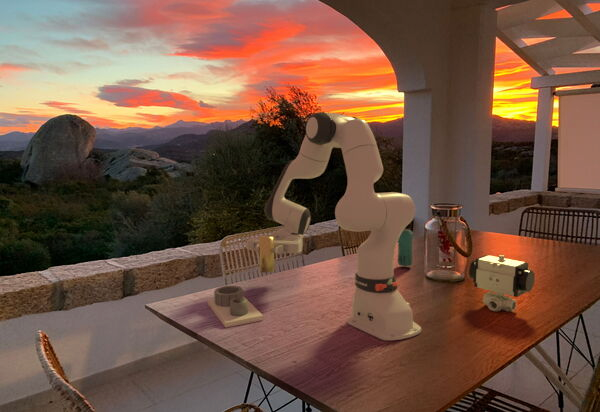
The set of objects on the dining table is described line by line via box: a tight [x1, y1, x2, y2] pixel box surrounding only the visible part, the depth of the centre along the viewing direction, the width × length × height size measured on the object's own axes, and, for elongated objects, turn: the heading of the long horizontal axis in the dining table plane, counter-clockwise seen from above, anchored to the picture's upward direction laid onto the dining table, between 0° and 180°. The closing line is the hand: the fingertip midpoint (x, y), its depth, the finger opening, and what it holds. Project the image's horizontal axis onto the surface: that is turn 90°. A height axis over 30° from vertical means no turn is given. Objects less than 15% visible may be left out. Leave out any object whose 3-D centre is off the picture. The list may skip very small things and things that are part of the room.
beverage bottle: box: [397, 222, 414, 267], centre depth 184 cm, size 6×7×20 cm
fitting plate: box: [207, 285, 264, 328], centre depth 137 cm, size 22×12×6 cm, turn 26°
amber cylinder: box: [258, 234, 275, 274], centre depth 146 cm, size 5×5×12 cm
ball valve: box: [468, 254, 536, 312], centre depth 136 cm, size 18×8×18 cm, turn 40°
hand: (265, 250), depth 145 cm, fingers closed on amber cylinder, 5 cm apart
